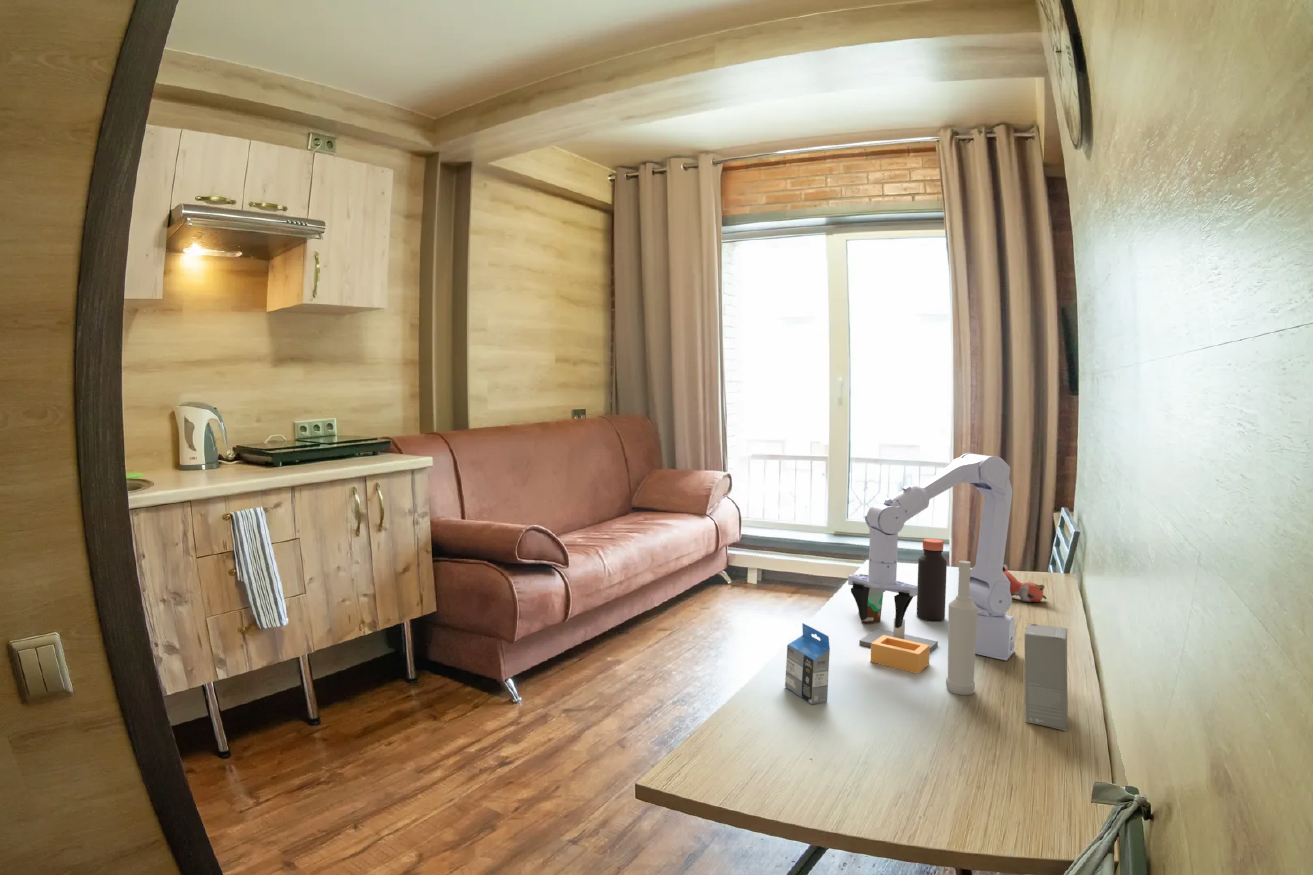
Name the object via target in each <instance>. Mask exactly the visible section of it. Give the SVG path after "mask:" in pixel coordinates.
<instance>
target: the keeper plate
mask: <svg viewBox="0 0 1313 875" xmlns="http://www.w3.org/2000/svg"><path fill="white" fill-rule="evenodd" d="M905 624H906V619H905V618H903V622H902V626H901V627H899V628H895V617H893V631H891V630H887V629H881V628H876V629H875V630H873V631H872V632H870V633H868V634H867V635H865V636H864V637H863V638H860V639H859V645H860V646H862V647H863V646H864V647H867V648H871V643H872V642H874V641H875V640H877V639H878V638H880V637H881V636H882V635H886V636H891V637H895V638H900V639H904V640H909V641H913V642H918V643H922V644H927V645H930V652H929V654H930V653H931V652H932V651H933V650H935V649H936V648H937V647H938V646H939V644H938V643H939V641H938V640H933V639H927V638H924V637H919V636H914V635H910V634H905V630H906V629H905V628H906V625H905Z"/></svg>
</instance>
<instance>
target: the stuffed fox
mask: <svg viewBox="0 0 1313 875" xmlns="http://www.w3.org/2000/svg"><path fill="white" fill-rule="evenodd" d="M1008 569H1009V568H1008V564H1003V572H1004V574H1005V575H1006V577H1007V578H1008V580H1009V581H1010V593H1011V596H1017V597H1019V599H1020V600H1021V602H1024V603H1034V602H1035V603H1039V602H1042V600H1043V599H1044V600H1047V597H1046V596H1045V595H1044V589H1045V585H1044V584H1037V583H1035V582H1030V581H1029V582H1024V583H1022V582H1020V581H1019V580H1018V579H1017V578H1016V577H1015V576H1014V575H1013V574H1011V572H1009V571H1008Z"/></svg>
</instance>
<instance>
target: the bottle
mask: <svg viewBox="0 0 1313 875" xmlns="http://www.w3.org/2000/svg"><path fill="white" fill-rule="evenodd" d="M970 570H971V561H968V560H959V561H958V585H957V586H958V587H957V588H958V589H957V594H956V595H955V598H954V599H953V600H951V601H950V602H949V603H948V619H947V620H948V627H947V628H948V629H947V631H948V632H947V634H948V635H947V676H946V678H945V686H946V689H947V691H949V692H951V693H953V694H957V695H959V696H962V695H963V696H970V695H973V694H974V692H975V688H976V683H975V681H974V677H975V660H976V654H975V648H976V631H977V615H978V607H977V606H976V605H975V604H974V603H973V602H972V601H971V597H969V586H970Z"/></svg>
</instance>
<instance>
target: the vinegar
mask: <svg viewBox="0 0 1313 875" xmlns="http://www.w3.org/2000/svg"><path fill="white" fill-rule="evenodd" d="M922 550H923V553H922V555H921V556H919V557H918V559H917V560H918V562H917V563H918V564H917V586H918V592H917V595H916V616H917V617H918V619H921V620H924V621H929V622H930V621H931V622H941V621H944V620H945V617H946V598H947V597H946V595H947V593H946V592H947V571H948V570H947V565H948V562H947V560H946V559H945V557H944V556H943V552H944V540H942V539H937V538H924V539H922Z"/></svg>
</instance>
